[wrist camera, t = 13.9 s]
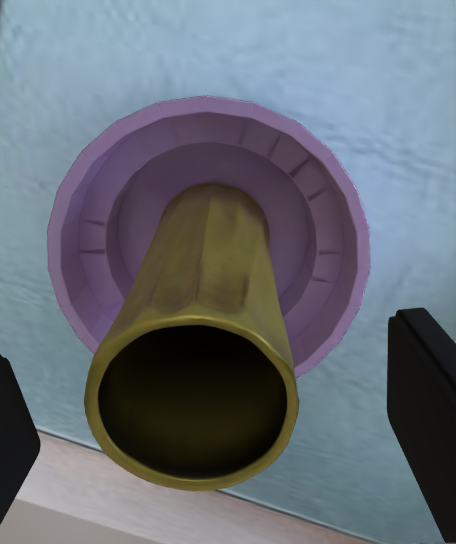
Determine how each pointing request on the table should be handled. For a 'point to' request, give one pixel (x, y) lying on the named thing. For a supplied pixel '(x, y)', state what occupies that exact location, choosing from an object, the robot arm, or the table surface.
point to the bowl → (203, 169)
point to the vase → (197, 351)
